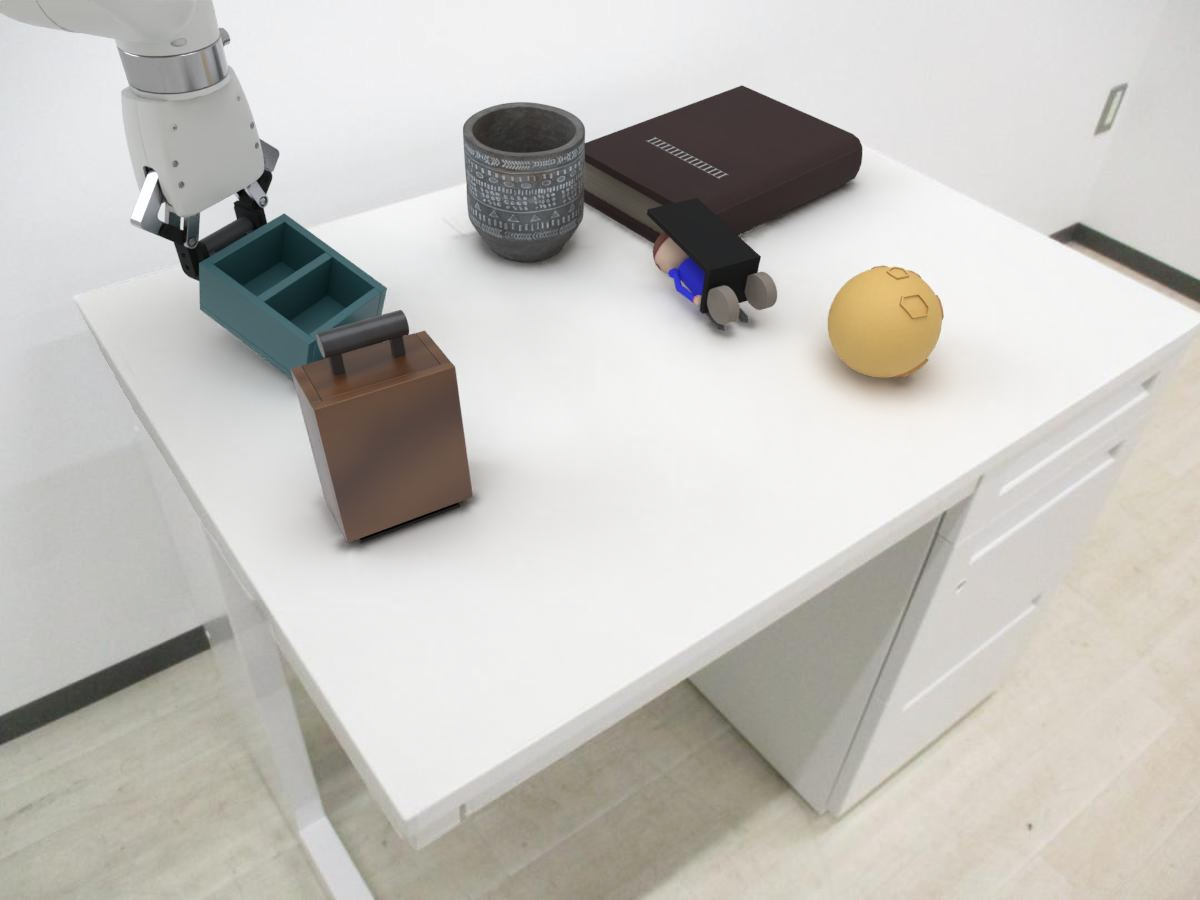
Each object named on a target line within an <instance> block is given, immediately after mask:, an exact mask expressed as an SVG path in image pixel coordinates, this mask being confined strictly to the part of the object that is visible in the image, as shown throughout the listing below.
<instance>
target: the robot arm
mask: <svg viewBox="0 0 1200 900" xmlns="http://www.w3.org/2000/svg"><path fill="white" fill-rule="evenodd" d="M0 14H2V15H3V16H6V17H8V18H10V19H12V20H15V21H16V22H20V23H23V24H26V25H31V26H35V27H39V28H45V29H51V30H57V31H62V32H63V31H64V32H67V33H74V34H84V35H91V36H97V37H100V38H107V39H113V40H114V42H115V44H116V48H117V52H118V54H119V55H118V56H119V58H120V61H121V65H122V67H123V71H124V74H125V77H126V80H127V83H128V86H126V87H125V88H123V89H122V90H121V91H120V96H121V100H120V101H121V112H122V121H123V128H124V129H123V130H124V134H125V139H126V143H127V145H126V146H127V149H128V153H129V158H130V162H131V165H132V169H133V173H134V177H135V180H136V184H137V187H138V190H139V195H138V198H137V200H136V203H135V205H134V209H133V211H132V214H131V216H130V221H129V222H130V224H131V226H134V227H135V228H138V229H141V230H142V231H146V232H147V233H150V234H153V235H156V236H158V237H161V238H163V239H165V240H168V241H170V242H173V245H174V248H175V251H176V254H177V257H178V260H179V263H180V266H181V268H182V269H181V270H182V271H183V273H184V274H185V275H186V276H187V277H188V278H190V279H193V280H195V281H198V282H199V263H200V262H202V261H203V260H205V259H207V258H209V257H210V256H209V253H208V249H207V246H206V245H205V244H204V243H202V242H199V241H200V223H201V212H203V211H205V210H207V209H209V208H211V207H213V206H215V205H217V204H218V203H220V202H222V201H224V200H226V199H227V198H229V197H230V196H232V195H234V196H235V197H236V198H237V200H235V201H234V202H233V210H234V215H235V217H236V220H237V219H239V218H240V217H247V218H248V219H249V220H250V221H251V222H252V223H253V225H254V228H255V230H256V229H258V228H260V227H262V226H263V225H265V224H267V223H268V221H267V217H266V213H265V208H266V207H267V206H268V205H269V197H268V195H267V194H268V191H269V188H270V186H271V183H272V181H273V172H274V171H275V169H276V165H277V162H278V160H279V157H280V150H279V149H278V148H276V147H274V145H273V146H272V145H271V144H269V143H268V142H266V141H265V140H263V139H261V138H260V137H259V132H258V129H257V125H256V122H255V118H254V116H253V113H252V110H251V106H250V104H249V102H248V99H247V97H246V94H245V91H244V89H243V86H242V84H241V82H240V79H239V78H238V76H237V74H236V72H235V69H234V68H233V67H232V66H230V65H229V64H228V61H227V56H226V52H225V46H228V45H229V44H230V43H231V37H230V34H229V32H228V31H227V29H225V28H223V27H219V23H218V20H217V15H216V11H215V7H214V2H213V0H0ZM162 204H164V221H162V220H161V219H159V216H158V215H159V211H160V209H161V207H162ZM182 218H183V225H182V229H181V223H182Z"/></svg>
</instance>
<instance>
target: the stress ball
mask: <svg viewBox="0 0 1200 900" xmlns="http://www.w3.org/2000/svg"><path fill="white" fill-rule="evenodd" d="M827 315H828V316H827V332H828V338H829V341H830V344H831V346H832V349H833V350H834V352H835V354H836V355H837V357H838V358H839V359H840V360H841V361H842V362H843V363H844V364H845V365H846V366H848V367H849V368H850V369H852V370H853V371H854V372H857V373H859V374H861V375H865V376H867V377H873V378H884V379H885V378H893V377H897V379H901V378H905V377H908V376H910V375H912V374H914V373H916V372H917V371H919V370H920V369H921V368H923V367H924V366H925V365H926V364H927V363H928V362H929V356H930V355H931V354H932V352H933V351H934V349H935V348H936V345H937V344H938V342H939V340H940V335H941V332H942V327H943V320H944V317H945V316H944V315H945V314H944V308H943V304H942V301H941V299H940V297H939V295H938V294H936V293H935V292H934V290H933V289H932V287H931V286H930V285H929V284H928V283H927V282H926V281H925V280H924V279H923V278H922V276H921V275H920V274H918V273H917V272H915V271H914V270H909V269H908V270H907V269H905V268H903V267H899V266H887V265H878V266H877V265H876V266H874V267H871V268H870V269H867V270H865V271H862V272H860V273H858V274H856V275H855V276H853V277H851V278H850V279H849V280H848V281H847V282H846V283H844V284H843V286H842V287H841V288H840V289H839V290H838V292H837V293H836V294H835V296H834V298H833V300H832V302H831V304H830V307H829V310H828V314H827Z"/></svg>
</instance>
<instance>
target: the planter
mask: <svg viewBox="0 0 1200 900" xmlns="http://www.w3.org/2000/svg"><path fill="white" fill-rule="evenodd" d="M462 140H463V157H464V171H465V182H466V205H467V215H468V219H469V221H470V223H471V224H472V226H473V228H474V229H475V231H476V232H477V234H478V235H479V237H480V238H481V239H482V240H483V241H484V242H485V244H486V245H487V246H488V247H489V248H490V250H491V251H492V252H494V253H495V254H496V255H497V256H499V257H502V258H504V259H507V260H510V261H515V262H524V263H525V262H526V263H527V262H528V263H529V262H537V261H538V262H539V261H543V260H544V261H545V260H547V259H551V258H552V257H554V256H556V255H557V254H559V253H561V251H562V250H563V249H564V247H566V245H567V243H568V242H569V241H570V240H571V238H572V237H573V235H574V234H575V233H576V232H577V230H578V228H579V227H580V225H581V223H582V221H583V219H584V211H585V202H584V170H585V143H586V127H585V124H584V123H583V122H582V120H581V119H580V118H579V117H578V116H576V115H575V114H574V113H571V112H570V111H569V110H566V109H563V108H560V107H556V106H553V105H549V104H543V103H538V102H528V101H527V102H526V101H525V102H523V101H521V102H520V101H518V102H516V101H515V102H507V103H506V102H505V103H500V104H495V105H492V106H489V107H486V108H484V109H481V110H479V111H477V112H476V113H474V114H471V116H470V117H468V118H467V120H465V122H464V124H463V126H462Z"/></svg>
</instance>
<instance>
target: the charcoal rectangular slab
mask: <svg viewBox="0 0 1200 900" xmlns="http://www.w3.org/2000/svg"><path fill="white" fill-rule="evenodd" d="M460 507H461V504H460V502H458V503H455V504H452V505H450V506H447V507H444V508H441V509H439V510H436V511H433V512H430V513H428V514H425V515H422V516H420V517H417V518H414V519H411V520H409V521H406V522H403V523H400V524H398V525H395V526H392V527H389V528H387V529H384V530H381V531H379V532H376V533H373V534H370V535H368V536H365V537H362V538H359V539H358V541H359V543H360V544H363V543H366V542H368V541H371V540H374V539H376V538H379V537H382V536H384V535H387V534H390V533H392V532H395V531H398V530H401V529H404V528H406V527H409V526H412V525H414V524H417V523H420V522H423V521H425V520H428V519H430V518H433V517H436V516H439V515H441V514H444V513H447V512H450V511H452V510H455V509H458V508H460Z"/></svg>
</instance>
